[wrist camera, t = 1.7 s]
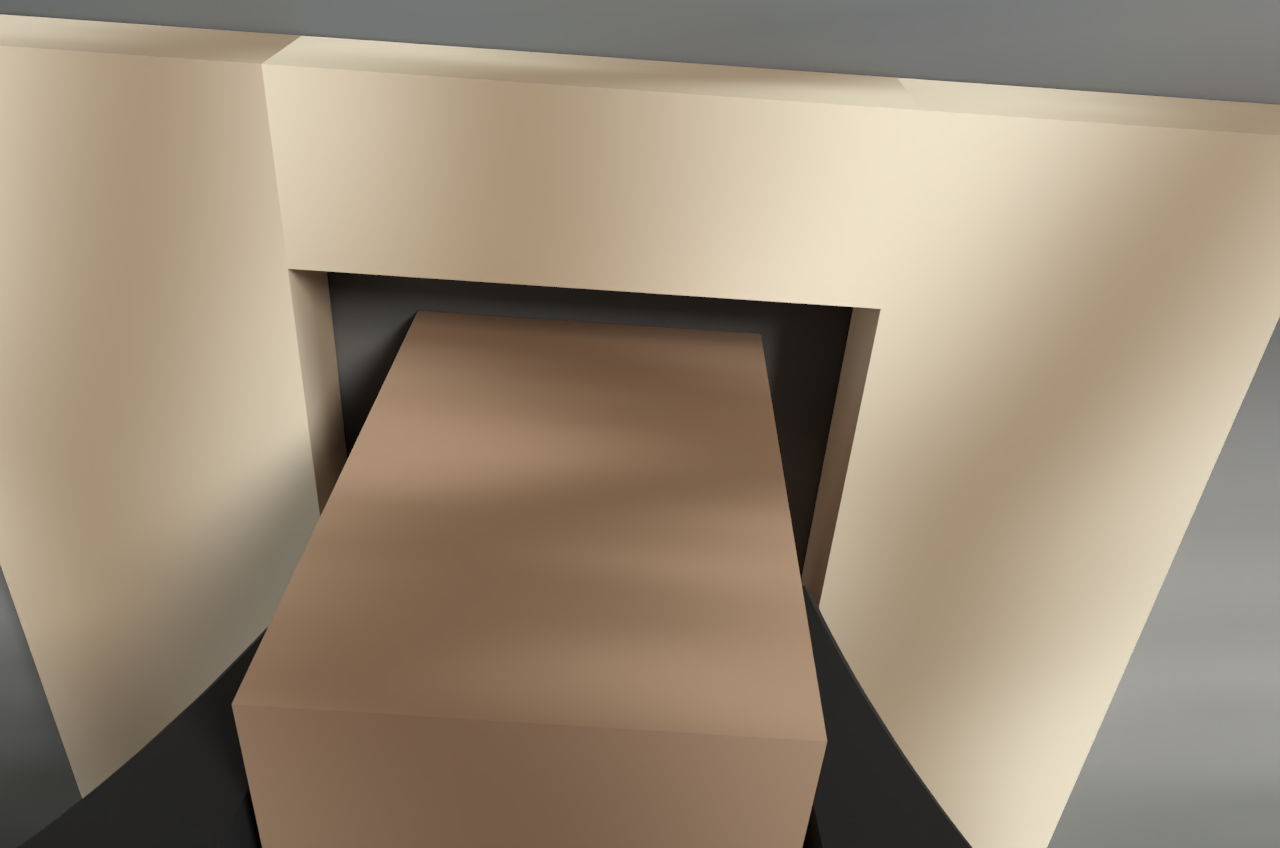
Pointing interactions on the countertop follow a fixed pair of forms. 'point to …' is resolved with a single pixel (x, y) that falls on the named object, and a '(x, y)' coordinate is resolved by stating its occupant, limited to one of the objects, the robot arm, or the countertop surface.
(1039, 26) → the countertop surface
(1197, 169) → the pocket plate
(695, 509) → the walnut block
